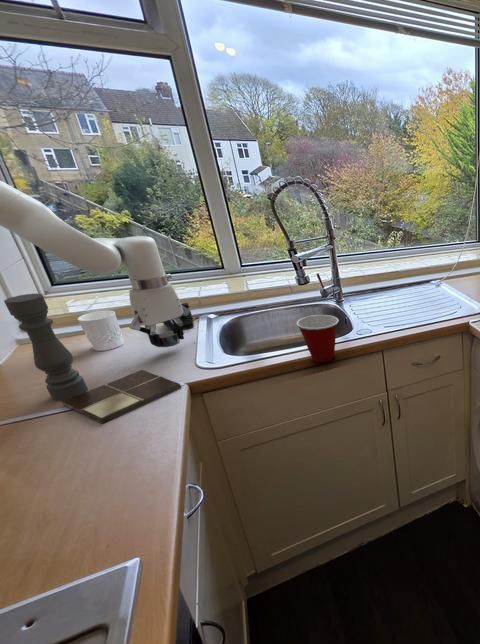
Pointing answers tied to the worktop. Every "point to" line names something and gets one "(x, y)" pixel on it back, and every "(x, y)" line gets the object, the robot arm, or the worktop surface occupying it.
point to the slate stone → (169, 338)
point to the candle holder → (47, 346)
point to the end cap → (187, 322)
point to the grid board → (121, 396)
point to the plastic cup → (319, 336)
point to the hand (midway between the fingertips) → (168, 341)
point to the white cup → (102, 329)
